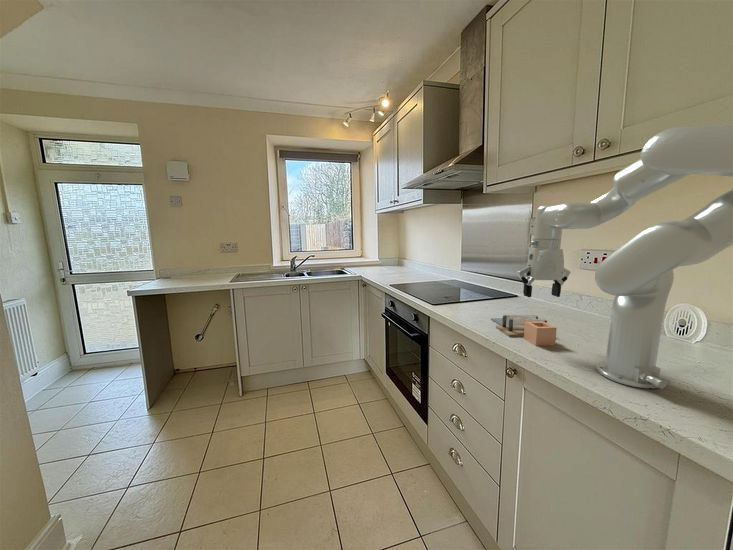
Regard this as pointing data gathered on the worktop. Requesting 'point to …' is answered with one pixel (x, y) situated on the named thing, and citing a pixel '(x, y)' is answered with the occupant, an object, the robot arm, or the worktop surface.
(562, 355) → the worktop surface
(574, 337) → the worktop surface
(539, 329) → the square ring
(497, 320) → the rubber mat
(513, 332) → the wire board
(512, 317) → the grey small table
